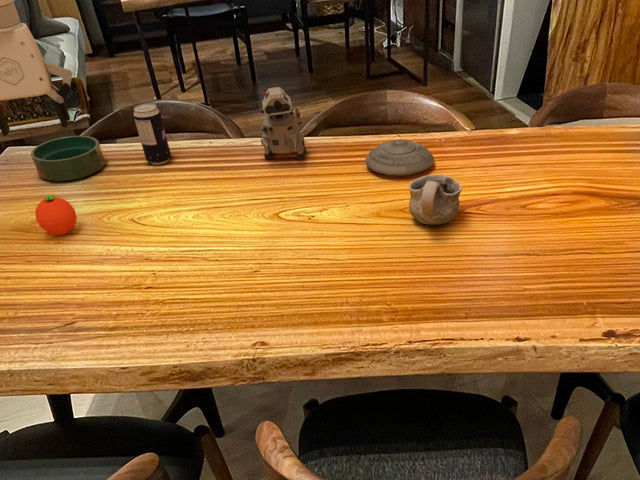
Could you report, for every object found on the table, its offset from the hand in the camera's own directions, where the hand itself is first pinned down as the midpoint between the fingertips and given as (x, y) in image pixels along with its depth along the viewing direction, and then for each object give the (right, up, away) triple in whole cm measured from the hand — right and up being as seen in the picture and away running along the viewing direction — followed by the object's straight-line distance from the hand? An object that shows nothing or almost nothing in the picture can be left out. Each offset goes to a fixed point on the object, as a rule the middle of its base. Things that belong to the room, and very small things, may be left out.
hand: (36, 128), depth 108 cm
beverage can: (+10, +6, +35) cm, 37 cm away
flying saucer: (+65, +3, +28) cm, 71 cm away
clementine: (-1, -15, +11) cm, 19 cm away
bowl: (-9, +4, +33) cm, 34 cm away
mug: (+70, -15, +9) cm, 72 cm away
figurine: (+39, +6, +33) cm, 51 cm away
